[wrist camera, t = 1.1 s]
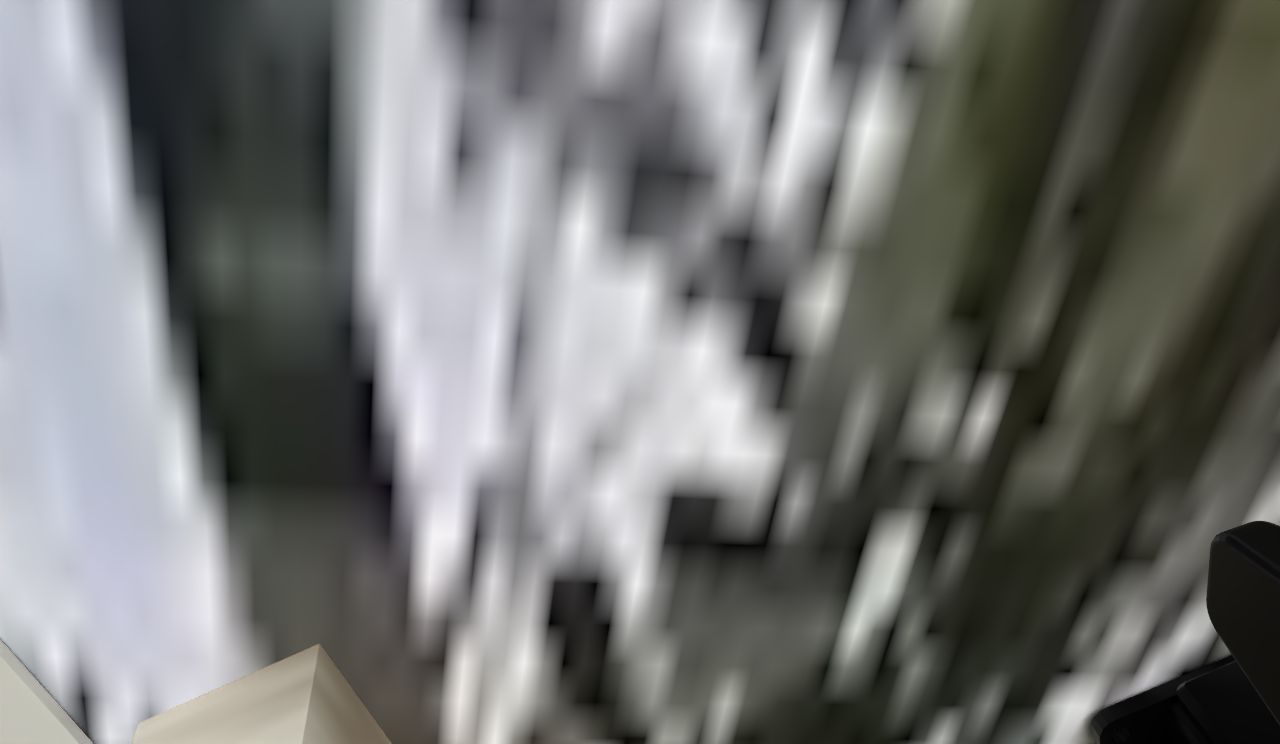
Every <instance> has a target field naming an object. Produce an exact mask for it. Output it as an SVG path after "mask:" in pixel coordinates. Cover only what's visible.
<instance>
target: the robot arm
mask: <svg viewBox="0 0 1280 744" xmlns="http://www.w3.org/2000/svg"><path fill="white" fill-rule="evenodd" d="M1206 602H1207V610H1208V614H1209V617H1210V620H1211V622H1212V624H1213V626H1214V628H1215V630H1216V631H1217V633H1218V635H1219V636H1220V638H1221V639H1222V640H1223V642H1224V643H1225V645H1226V646H1227V648H1228V649H1229V651H1230V652H1231V654H1232V656H1229V657H1227V658H1224V659H1222V660H1220V661H1217V662H1215V663H1212V664H1210V665H1208V666H1205V667H1203V668H1200V669H1198V670H1196V671H1193V672H1191V673H1188V674H1186V675H1184V676H1181V677H1179V678H1176V679H1174V680H1172V681H1169V682H1167V683H1164V684H1162V685H1160V686H1157V687H1155V688H1152V689H1150V690H1148V691H1145V692H1143V693H1140V694H1138V695H1136V696H1133V697H1131V698H1128V699H1126V700H1124V701H1121V702H1119V703H1116V704H1114V705H1112V706H1109V707H1107V708H1105V709H1104V710H1102V711H1100V712H1099V713H1098V714H1097V715H1096V716H1095V717H1094V719H1093V721H1092V723H1091V732H1092V735H1093V738H1094V741H1095V744H1280V526H1279V525H1276V524H1273V523H1270V522H1265V521H1254V522H1250V523H1247V524H1244V525H1241V526H1238V527H1236V528H1233V529H1230V530H1227V531H1224V532H1222V533H1220V534H1218V535H1216V537H1215V538H1214V540H1213V541H1212V543H1211V548H1210V560H1209V573H1208V586H1207V598H1206ZM1117 727H1118V728H1117ZM1116 728H1117V729H1116ZM1114 729H1115V730H1114Z"/></svg>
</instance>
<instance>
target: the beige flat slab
mask: <svg viewBox="0 0 1280 744" xmlns="http://www.w3.org/2000/svg"><path fill="white" fill-rule="evenodd" d="M0 744H93V743H92V741H91V740H90V739H89V738H88V737H87V736H86V735H85V734H84V732H83V731H82V730H81V729H80V728H79V727H78V726H77V725H76V724H75V722H74V721H73V720H72V719H71V718H70V717H69V716H68V715H67V713H66V712H65V711H64V710H63V709H62V708H61V707H60V706H59V704H58V703H57V702H56V701H55V700H54V699H53V698H52V697H51V696H50V694H49V693H48V692H47V691H46V690H45V689H44V688H43V687H42V685H41V684H40V683H39V682H38V681H37V680H36V679H35V678H34V676H33V675H32V674H31V673H30V672H29V671H28V670H27V669H26V668H25V666H24V665H23V664H22V663H21V662H20V661H19V660H18V659H17V657H16V656H15V655H14V654H13V653H12V652H11V651H10V650H9V648H8V647H7V646H6V645H5V644H4V643H3V642H2V641H1V640H0Z"/></svg>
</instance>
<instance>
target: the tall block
mask: <svg viewBox="0 0 1280 744" xmlns="http://www.w3.org/2000/svg"><path fill="white" fill-rule="evenodd" d="M132 744H392V743H391V742H390V740H389V739H388V738H387V736H386V735H385V733H384V732H383V731H382V729H381V728H380V727H379V725H378V724H377V722H376V721H375V720H374V718H373V717H372V715H371V714H370V713H369V711H368V710H367V709H366V707H365V706H364V704H363V703H362V702H361V700H360V699H359V697H358V696H357V695H356V693H355V692H354V691H353V689H352V688H351V686H350V685H349V684H348V682H347V681H346V679H345V678H344V677H343V675H342V674H341V673H340V671H339V670H338V668H337V667H336V666H335V664H334V663H333V661H332V660H331V659H330V657H329V656H328V655H327V653H326V652H325V650H324V649H323V648H322V646H321V645H320V644H318V645H315V646H313V647H311V648H308V649H306V650H304V651H302V652H299V653H297V654H295V655H293V656H290V657H288V658H286V659H283V660H281V661H279V662H277V663H274V664H272V665H270V666H267V667H265V668H263V669H261V670H258V671H256V672H254V673H252V674H249V675H247V676H245V677H242V678H240V679H238V680H236V681H233V682H231V683H229V684H226V685H224V686H222V687H220V688H217V689H215V690H213V691H211V692H208V693H206V694H204V695H201V696H199V697H197V698H195V699H192V700H190V701H188V702H185V703H183V704H181V705H179V706H176V707H174V708H172V709H170V710H167V711H165V712H163V713H160V714H158V715H156V716H154V717H151V718H149V719H147V720H144V721H142V722H140V723H139V724H138V727H137V730H136V733H135V735H134V738H133V741H132Z"/></svg>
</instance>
